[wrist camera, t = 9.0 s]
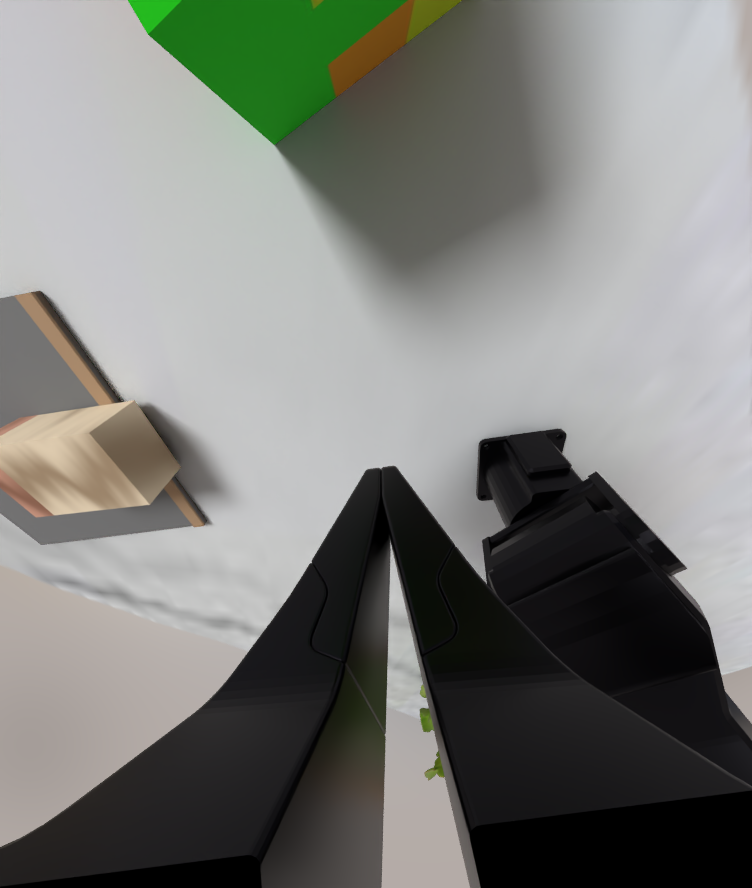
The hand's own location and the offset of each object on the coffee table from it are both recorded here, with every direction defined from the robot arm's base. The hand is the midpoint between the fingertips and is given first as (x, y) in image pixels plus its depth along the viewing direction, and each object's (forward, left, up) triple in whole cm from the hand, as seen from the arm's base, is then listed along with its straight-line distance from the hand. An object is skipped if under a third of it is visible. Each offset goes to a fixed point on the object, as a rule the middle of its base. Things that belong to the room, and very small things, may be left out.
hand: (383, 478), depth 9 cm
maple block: (-4, +17, -10) cm, 20 cm away
